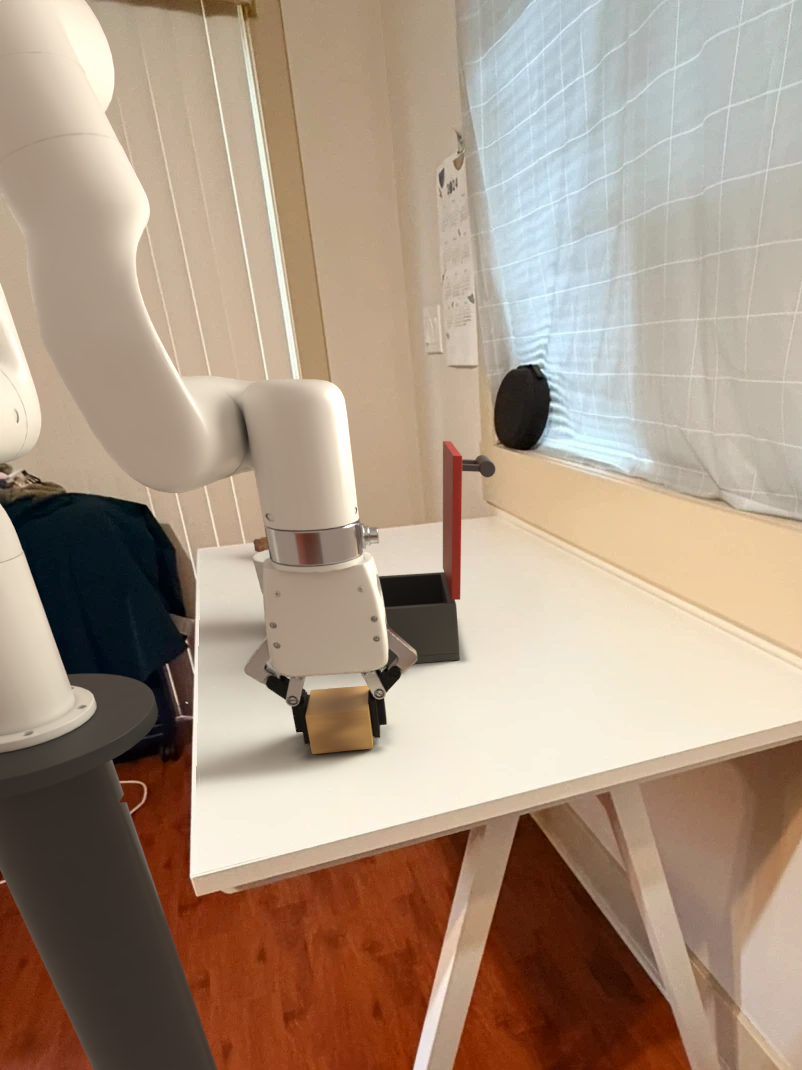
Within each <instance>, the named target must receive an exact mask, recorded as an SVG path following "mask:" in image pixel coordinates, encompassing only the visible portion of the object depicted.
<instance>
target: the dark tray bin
mask: <svg viewBox="0 0 802 1070" xmlns="http://www.w3.org/2000/svg"><path fill="white" fill-rule="evenodd" d="M378 576H379V580H380V584H381V589H382V595H383V601H384V607H385V613H386V620H387V625H388V626H389V627H390V628H391V629H392V630H393V631H394V632H396V633H397V634H398V635H399V636H400V637H401V638H402V639H403V640H405V641H406V642H407V643H408V644H409V645H410V646H411V647H413V648H414V649H415V650H416V652H417V661H416V662H415V663H414V664H424V663H425V664H426V663H435V662H448V661H450V662H451V661H460V660H461V655H460V643H459V642H460V640H459V639H460V638H459V624H458V622H459V621H458V609H457V602H456V600H452V599H451V595H450V591H449V588H448V584H447V581H446V577H445V574H444V571H441V572H423V573H407V574H392V575H378ZM396 658H397V655H396V654H395V653H394V652H393V651H392V650H390V649H388V662H387V664H386V665H385V666H384V667H387V666H388V665H389V664H390V663H391V662H393V661H394V660H395V659H396Z"/></svg>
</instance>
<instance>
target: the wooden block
mask: <svg viewBox="0 0 802 1070" xmlns="http://www.w3.org/2000/svg"><path fill="white" fill-rule="evenodd" d="M368 690H370V689H369V687H368V685H357V686H355V685H354V686H345V687H344V686H343V687H332V688H319V689H311V690H310V693H309V695H310V697H309V702H308V707H307V711H306V715H305V717H306V723H307V729H308V734H309V740H310V744H309V745H310V746H309V747H310V750H311V754H312V755H317V754H329V753H339V752H351V751H360V750H371V749H373V748H374V737H373V734H372V726H371V718H370V710H369V704H368Z"/></svg>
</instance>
